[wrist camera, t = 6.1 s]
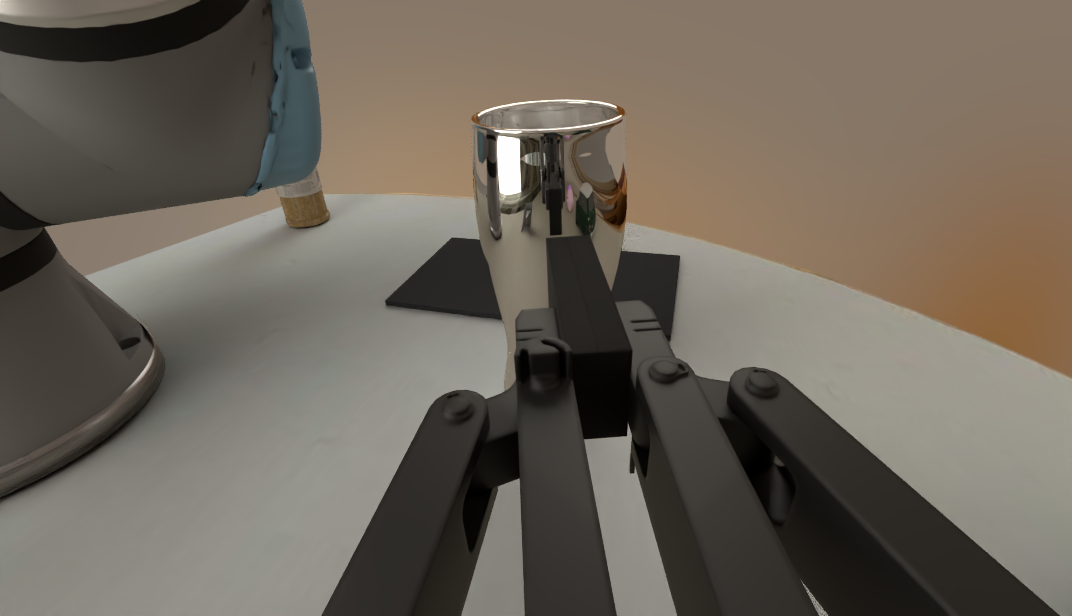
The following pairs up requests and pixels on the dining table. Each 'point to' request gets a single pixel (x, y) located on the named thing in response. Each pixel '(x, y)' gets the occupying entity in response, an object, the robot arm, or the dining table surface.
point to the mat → (466, 289)
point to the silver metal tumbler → (546, 194)
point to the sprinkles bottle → (304, 202)
